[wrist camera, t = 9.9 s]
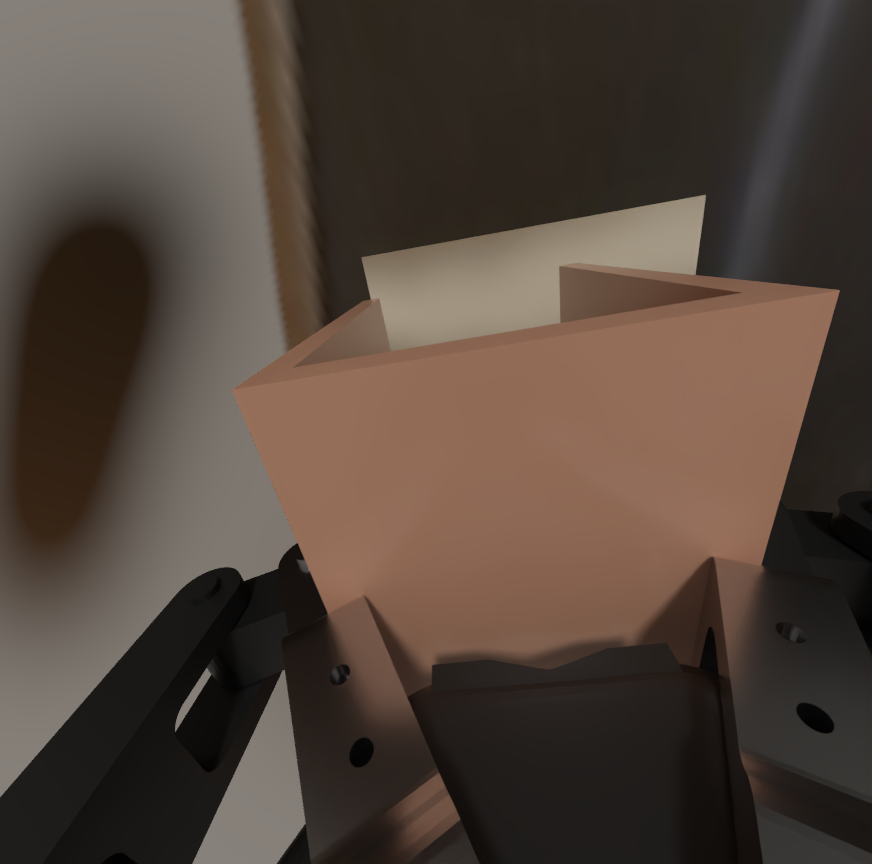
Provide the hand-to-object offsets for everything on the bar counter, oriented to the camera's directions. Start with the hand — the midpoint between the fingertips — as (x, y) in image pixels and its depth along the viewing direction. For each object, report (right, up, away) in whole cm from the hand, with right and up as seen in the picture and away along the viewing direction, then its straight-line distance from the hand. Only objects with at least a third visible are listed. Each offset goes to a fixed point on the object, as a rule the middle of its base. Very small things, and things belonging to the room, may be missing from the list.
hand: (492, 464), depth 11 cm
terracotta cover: (0, +1, +2) cm, 2 cm away
